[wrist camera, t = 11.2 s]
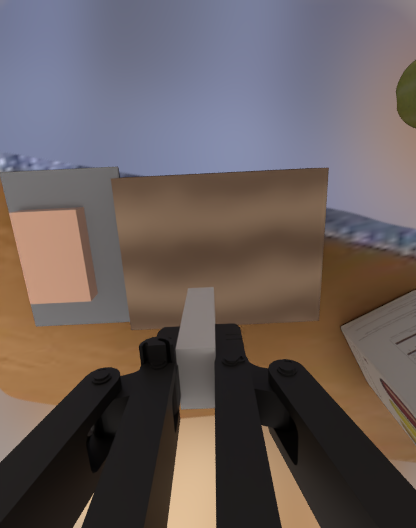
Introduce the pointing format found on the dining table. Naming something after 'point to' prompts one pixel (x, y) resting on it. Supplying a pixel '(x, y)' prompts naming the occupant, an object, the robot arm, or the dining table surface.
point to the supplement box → (389, 356)
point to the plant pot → (407, 95)
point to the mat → (99, 231)
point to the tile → (55, 254)
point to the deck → (223, 244)
